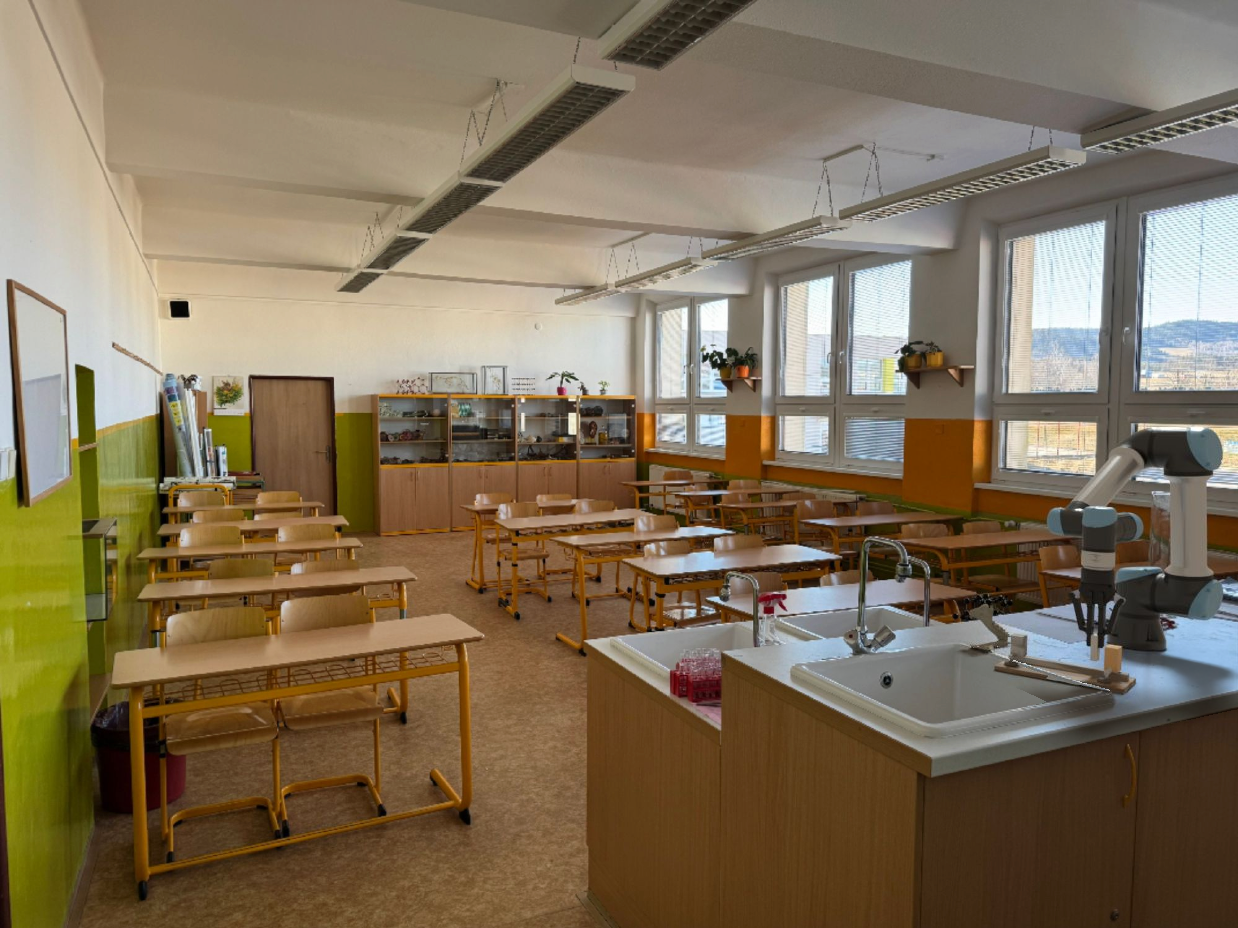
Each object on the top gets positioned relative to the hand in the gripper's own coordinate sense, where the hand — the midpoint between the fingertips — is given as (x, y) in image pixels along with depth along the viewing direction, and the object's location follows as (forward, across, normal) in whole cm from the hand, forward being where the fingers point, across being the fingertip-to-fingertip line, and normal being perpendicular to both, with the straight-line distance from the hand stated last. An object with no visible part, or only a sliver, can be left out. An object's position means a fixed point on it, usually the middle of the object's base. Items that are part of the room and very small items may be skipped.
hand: (1094, 659), depth 221 cm
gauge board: (+5, -6, -3) cm, 9 cm away
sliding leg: (+3, +4, -3) cm, 5 cm away
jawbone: (+5, -32, +16) cm, 36 cm away
